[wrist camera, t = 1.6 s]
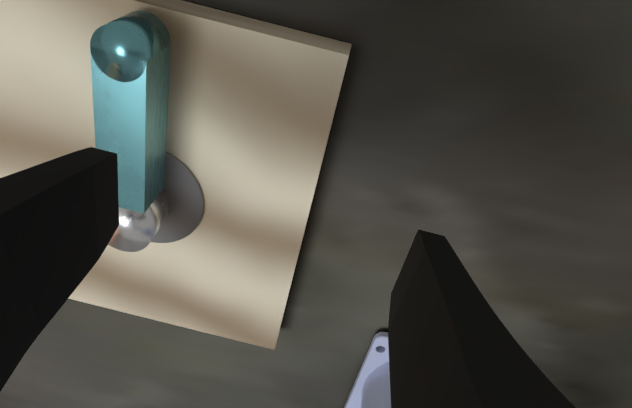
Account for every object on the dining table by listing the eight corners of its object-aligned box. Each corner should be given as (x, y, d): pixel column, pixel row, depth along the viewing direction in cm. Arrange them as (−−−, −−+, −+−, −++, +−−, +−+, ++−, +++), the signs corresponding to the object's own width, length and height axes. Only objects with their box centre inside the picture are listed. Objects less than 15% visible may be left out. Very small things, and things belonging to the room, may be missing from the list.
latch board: (279, 328, 27) (273, 352, 25) (-37, 249, 27) (-61, 269, 25) (351, 43, 18) (348, 57, 16) (-123, -78, 18) (-168, -75, 16)
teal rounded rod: (169, 229, 21) (151, 258, 20) (116, 216, 21) (93, 243, 20) (180, 19, 16) (156, 34, 15) (110, 2, 16) (78, 15, 15)
